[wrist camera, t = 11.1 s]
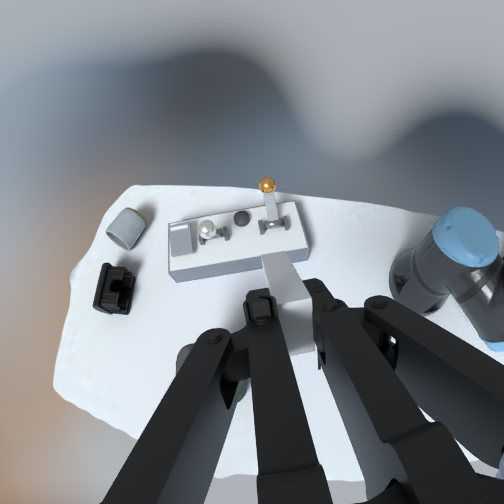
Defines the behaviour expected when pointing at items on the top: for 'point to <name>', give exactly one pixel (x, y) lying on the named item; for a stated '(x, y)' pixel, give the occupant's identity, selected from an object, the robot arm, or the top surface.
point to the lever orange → (270, 204)
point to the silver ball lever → (209, 230)
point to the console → (240, 243)
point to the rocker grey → (181, 239)
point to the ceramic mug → (126, 228)
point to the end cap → (114, 290)
